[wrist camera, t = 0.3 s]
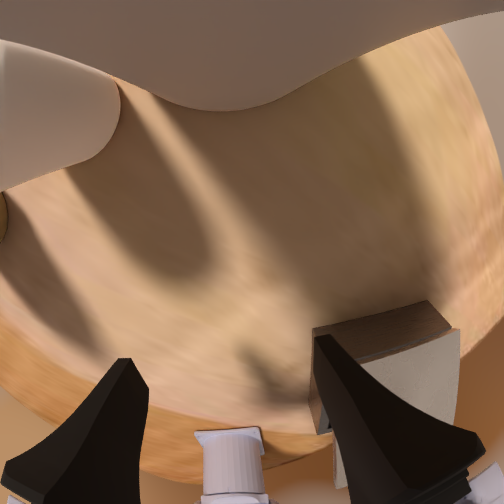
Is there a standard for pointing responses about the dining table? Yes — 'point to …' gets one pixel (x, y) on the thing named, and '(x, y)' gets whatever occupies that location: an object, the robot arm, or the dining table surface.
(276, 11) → the cylinder vase
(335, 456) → the lid
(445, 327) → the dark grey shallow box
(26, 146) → the can
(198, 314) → the dining table surface
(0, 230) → the squeeze bottle
